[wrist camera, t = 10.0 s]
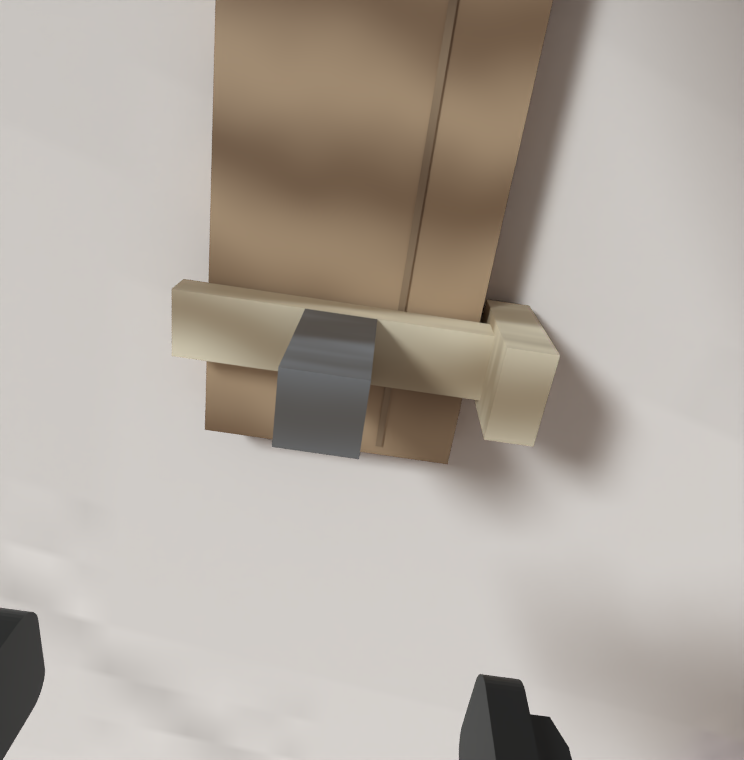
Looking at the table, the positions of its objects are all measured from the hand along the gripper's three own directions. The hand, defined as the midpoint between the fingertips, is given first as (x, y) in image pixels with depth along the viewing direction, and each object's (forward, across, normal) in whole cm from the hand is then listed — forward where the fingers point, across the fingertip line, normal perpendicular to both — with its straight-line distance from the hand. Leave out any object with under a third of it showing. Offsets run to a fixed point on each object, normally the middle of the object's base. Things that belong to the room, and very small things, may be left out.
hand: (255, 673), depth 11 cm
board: (+20, 0, -7) cm, 21 cm away
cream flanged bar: (+20, 0, 0) cm, 20 cm away
